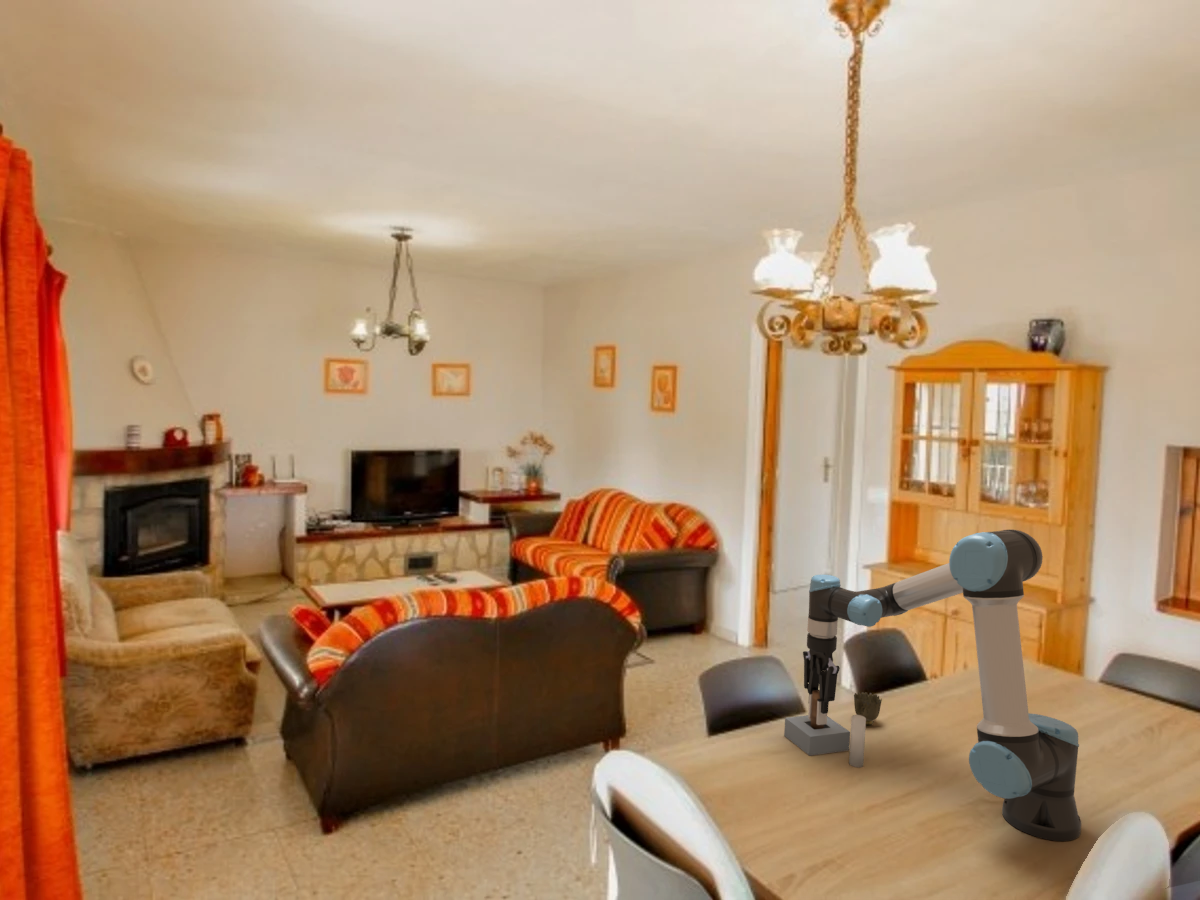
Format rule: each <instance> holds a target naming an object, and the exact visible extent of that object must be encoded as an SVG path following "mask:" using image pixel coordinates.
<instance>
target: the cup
mask: <svg viewBox="0 0 1200 900" xmlns="http://www.w3.org/2000/svg"><path fill="white" fill-rule="evenodd" d="M853 700H854V713H855V715H861V716H864V717H865V718H866V727H870V726H873V725H874V721H875V720H876V719H877V718H878V717H879V714H880V711H881V705H882V701H883V698H880V695H877V693H875V694H872V692H869V694H868V692H866V691H865V692H863V691H861V693H860V692H857V693H856V692H854V694H853Z"/></svg>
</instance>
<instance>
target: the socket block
mask: <svg viewBox="0 0 1200 900" xmlns="http://www.w3.org/2000/svg"><path fill="white" fill-rule="evenodd" d="M783 736H784V737H785V738H786V739H787V740H789V741H790V740H791V741H792V742H791V741H790V742H791V743H792V744H794V745H795V746H796V745H797V746H796V747H798V748H799V749H800V750H801V751H802V752H804V753H805V754H807V755H808V756H811V757H812V756H816V755H817V756H818V755H825V754H832V753H840V752H846V751H847V752H848V751H850V737H851V730H849V729H847V728H845V727H844V726H842V725H841V724H839V723H838V722H837V721H836V720H834V719H832V718H831V717H829V716H828V715H827V724H824V728H823V729H815V730H814V729H813V728H812V727H811V719H809V718H808V714H807V715H806V714H805V715H797V716H790V717H788V716H787V717H785V718H784V734H783Z"/></svg>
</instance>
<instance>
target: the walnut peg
mask: <svg viewBox="0 0 1200 900" xmlns="http://www.w3.org/2000/svg"><path fill="white" fill-rule="evenodd" d="M817 699H820V690H819V689H818V690H814V691H813V692H812V709H811V727H812V728H813V729H814V730H815V729H823V728H824V724H823V725H817V724H816V720H817V702H818V700H817Z"/></svg>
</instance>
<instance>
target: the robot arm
mask: <svg viewBox="0 0 1200 900" xmlns="http://www.w3.org/2000/svg"><path fill="white" fill-rule="evenodd" d="M1043 558H1044V557H1043V551H1042V548H1041V546H1040V545H1039V543H1038V541H1037V540H1036V538H1034V537H1033V536H1031V535H1030V534H1028V533H1027V532H1025V531H1022V530H1020V529H1019V530H1018V529H1003V530H996V531H985V532H984V531H982V532H976V533H973V534H969V535H967V536H964V537H962V538H961V539H959V541H958V542H957V543H955V545H954V546H953V548H952V550H951V551H950V555H949V561H948V563H945V564H942V565H939V566H937V567H934V568H932V569H928V570H926V571H923V572H921V573H918V574H915V575H913V576H910V577H907V578H904V579H902V580H899V581H896V582H893V583H891V584H887V585H885V586H883V587H878V588H877V587H876V588H871V589H865V590H859V591H855V590H854V591H853V590H850V589H846V588H843V587H841V580H840V578H839V577H837V576H835V575H832V574H831V575H830V574H815V575H813V576H811V579H810V584H809V591H808V592H809V594H808V595H809V597H808V618H807V627H806V628H807V629H806V630H807V632H808V633H807V637H806V647H807V648H808V649H809V650H806V651H803V652H802V657H803V687H804V689H805V690H807V693H808V714H807V715H808V718H809V719H811V709H812V692H813V691H814V690H820V699H817V700H818V702H817V720H816V724H817V725H823V724H827V716H828V714H829V703H830V702H834V701H835V700H836V690H837V682H838V681H837V680H838V674H839V671H840V666H839V665H835V662H834V656H833V653H835V651H836V650H837V646H838V645H837V644H838V643H837V641H838V637H837V635H838V622H839V621H838V620H839V619H842V620H845V621H847V622H849V623H853V624H856V625H857V626H862V627H863V626H864V627H869V628H871V627H874V626H876V624H877V623H879V621H880V620H881V619H882V618H888V617H893V616H894V617H895V616H901V615H903V614H905V613H908V611H911V610H914V609H916V608H920V607H922V606H923V607H924V606H925V605H929V604H932V603H936V602H938V601H942V600H944V599H948V598H951V597H953V596H956V595H961V594H962V595H963V598H964V599H965V600H966V601H968V602H969V603H970V604H971V606H972V607H971V608H972V618H973V625H974V626H973V627H974V635H975V637H974V638H975V645H976V646H975V647H976V658H977V665H978V667H977V668H978V674H979V684H980V685H979V686H980V694H981V695H980V696H981V704H982V713H983V714H982V715H983V718H982V719H981V720H980V721H979V722H978V723H977V724H976V732H977V742H976V743H975V744H974V745H973V746H972V748H971V749H970V751H969V755H968V763H969V767H970V770H971V773H972V774H973V777H974V778H975V780H976V781H977V782H978V783H979V784H980V785H981V786H982V787H983V788H984V790H985V791H987V792H988V793H990V794H991V795H993V796H996V797H998V798H1000V799H1001V798H1002V799H1003V802H1002V810H1001V814H1002V816H1003V818H1004V819H1005V821H1006V822H1008V824H1009V825H1011V826H1012V827H1014V828H1015V829H1017V830H1019V831H1021V832H1023V833H1026V834H1028V835H1030V836H1033V837H1036V838H1038V839H1039V838H1040V839H1043V840H1044V839H1045V840H1048V841H1057V842H1068V841H1074V840H1076V839H1078V838H1079V837H1080V836H1081V832H1082V820H1081V817H1080V816H1079V812H1078V808H1077V803H1076V799H1075V786H1076V775H1077V764H1078V755H1079V753H1078V752H1079V747H1080V744H1079V733H1078V731H1077V729H1076V728H1075V727H1074V726H1072V725H1071V724H1069V723H1067V722H1065V721H1063V720H1059V719H1057V718H1055V717H1051V716H1047V715H1042V714H1038V713H1031V712H1030V713H1029V708H1028V707H1029V706H1028V697H1027V695H1028V694H1027V687H1026V677H1025V669H1024V660H1023V650H1022V640H1021V633H1020V623H1019V612H1018V603H1019V602H1020V600H1021V599H1023V598H1024V597H1025V594H1024V583H1023V582H1027V581H1028V580H1031V579H1032V578H1033V577H1036V575H1037V574H1038V573H1039V571H1040V569H1041V568H1042V564H1043Z"/></svg>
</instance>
